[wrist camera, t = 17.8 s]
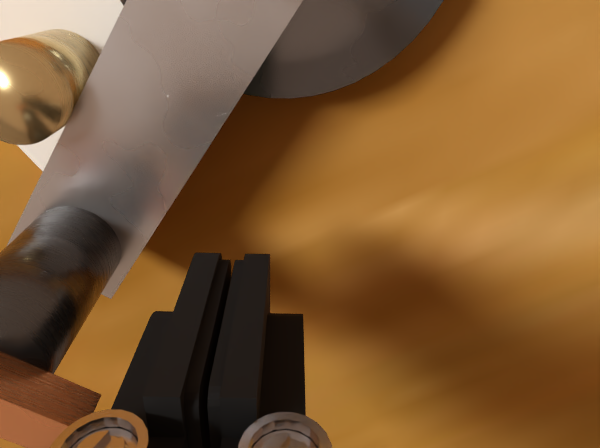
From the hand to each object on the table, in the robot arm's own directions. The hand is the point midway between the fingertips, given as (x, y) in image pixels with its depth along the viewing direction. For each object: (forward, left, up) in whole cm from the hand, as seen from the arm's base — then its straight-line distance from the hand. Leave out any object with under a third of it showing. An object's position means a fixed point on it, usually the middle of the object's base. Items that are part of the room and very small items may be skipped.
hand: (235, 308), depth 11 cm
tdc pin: (+5, -4, -4) cm, 7 cm away
